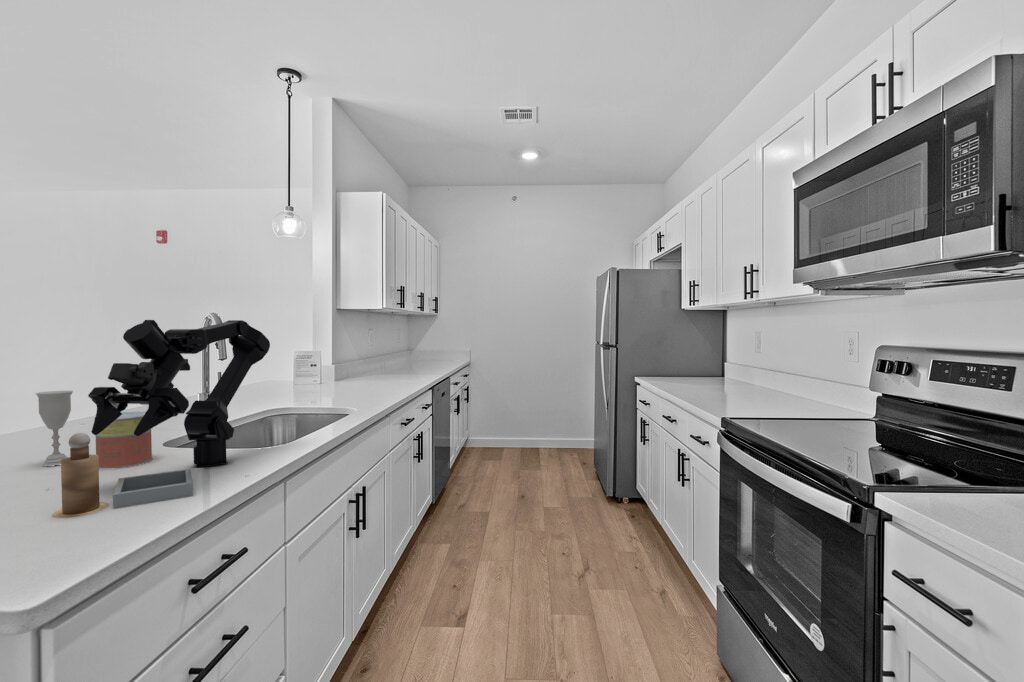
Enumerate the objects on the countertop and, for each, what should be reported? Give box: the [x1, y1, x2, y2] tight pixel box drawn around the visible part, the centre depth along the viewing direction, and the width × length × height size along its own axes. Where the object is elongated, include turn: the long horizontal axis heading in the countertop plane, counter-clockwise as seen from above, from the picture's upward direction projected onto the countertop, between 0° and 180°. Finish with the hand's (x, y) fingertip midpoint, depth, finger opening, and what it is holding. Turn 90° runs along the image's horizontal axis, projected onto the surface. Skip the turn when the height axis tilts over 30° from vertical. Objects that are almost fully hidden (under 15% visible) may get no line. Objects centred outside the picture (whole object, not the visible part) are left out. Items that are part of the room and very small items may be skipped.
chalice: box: [35, 390, 74, 467], centre depth 125 cm, size 7×7×18 cm
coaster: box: [51, 501, 110, 519], centre depth 92 cm, size 8×8×1 cm
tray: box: [112, 468, 194, 510], centre depth 101 cm, size 12×12×3 cm
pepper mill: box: [60, 432, 101, 515], centre depth 92 cm, size 5×5×14 cm
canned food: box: [95, 411, 153, 469], centre depth 126 cm, size 11×11×12 cm
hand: (114, 434), depth 98 cm, fingers open, 9 cm apart
